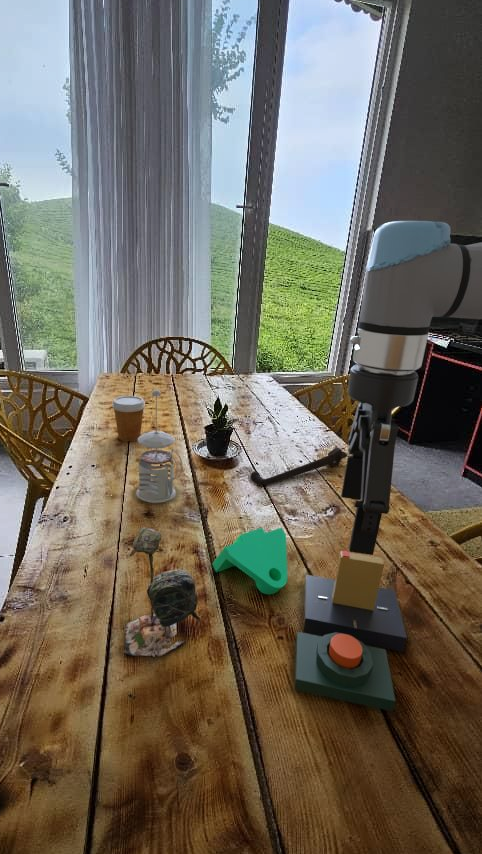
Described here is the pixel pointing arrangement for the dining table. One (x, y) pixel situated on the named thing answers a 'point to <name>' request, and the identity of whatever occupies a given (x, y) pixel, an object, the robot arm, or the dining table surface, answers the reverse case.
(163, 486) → the french press
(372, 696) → the box
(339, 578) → the olive tan box
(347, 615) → the black flat block
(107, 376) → the dining table surface
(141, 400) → the disposable coffee cup
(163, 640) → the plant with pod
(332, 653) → the release button
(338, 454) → the wrench
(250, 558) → the camera mount
